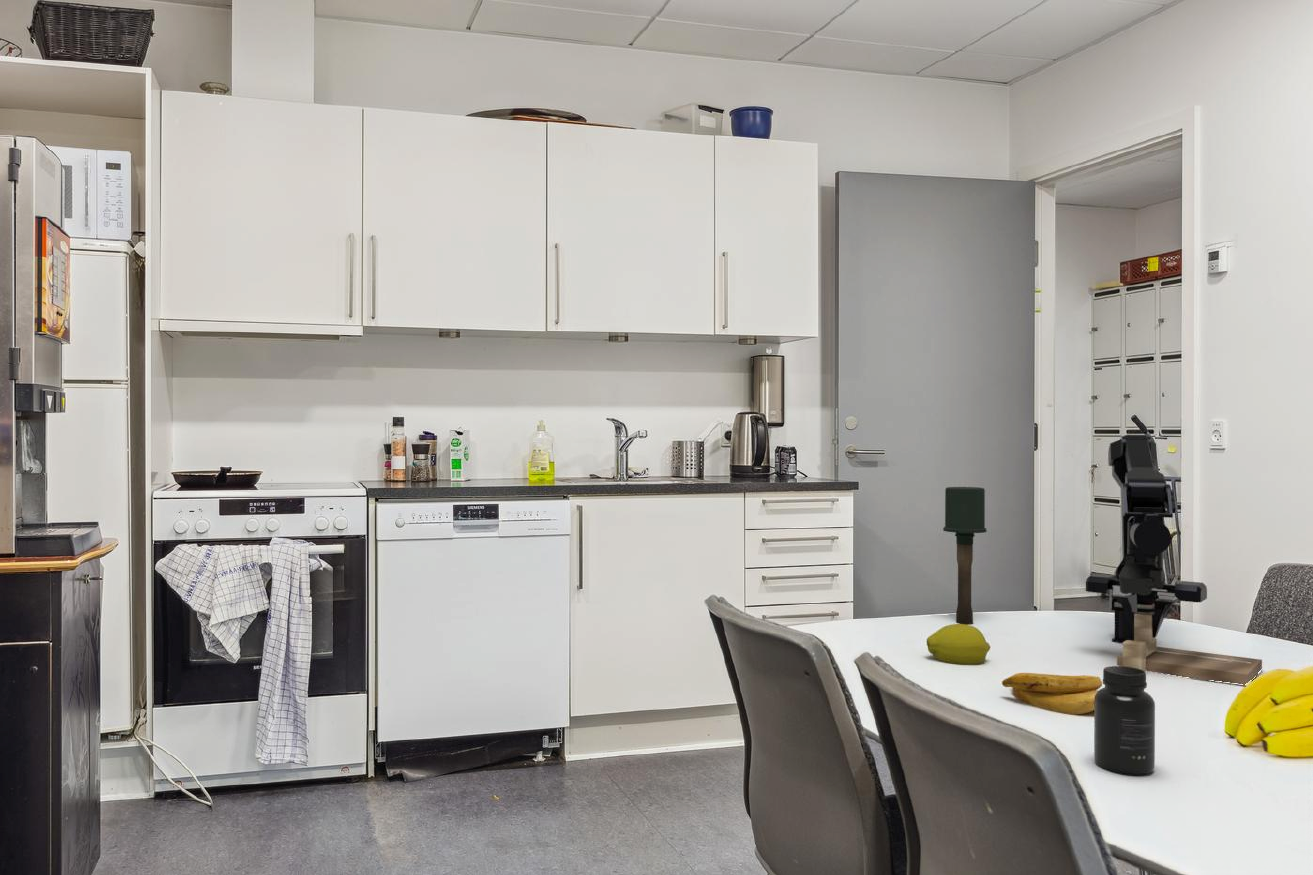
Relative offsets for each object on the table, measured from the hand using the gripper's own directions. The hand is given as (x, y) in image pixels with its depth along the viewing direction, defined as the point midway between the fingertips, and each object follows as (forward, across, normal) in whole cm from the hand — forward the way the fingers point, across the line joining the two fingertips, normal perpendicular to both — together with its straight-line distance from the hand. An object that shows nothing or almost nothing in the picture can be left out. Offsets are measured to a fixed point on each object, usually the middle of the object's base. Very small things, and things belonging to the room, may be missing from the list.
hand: (1144, 636), depth 178 cm
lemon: (+6, -24, -24) cm, 35 cm away
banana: (+6, -3, -36) cm, 36 cm away
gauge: (+3, 0, +4) cm, 5 cm away
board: (+5, +7, +2) cm, 9 cm away
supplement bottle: (+6, +12, -60) cm, 61 cm away
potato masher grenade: (+6, -36, +8) cm, 38 cm away
